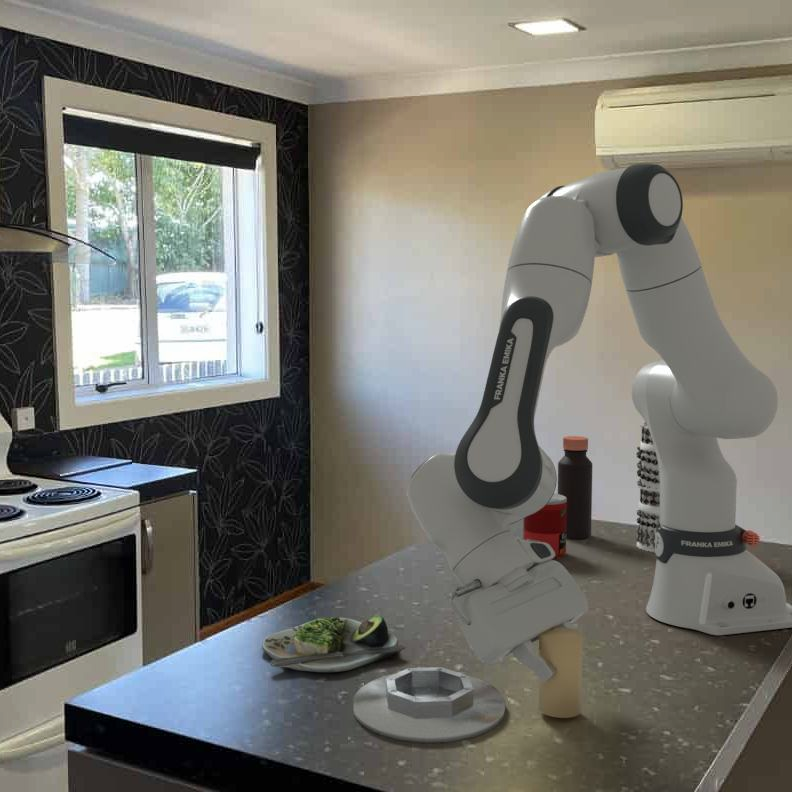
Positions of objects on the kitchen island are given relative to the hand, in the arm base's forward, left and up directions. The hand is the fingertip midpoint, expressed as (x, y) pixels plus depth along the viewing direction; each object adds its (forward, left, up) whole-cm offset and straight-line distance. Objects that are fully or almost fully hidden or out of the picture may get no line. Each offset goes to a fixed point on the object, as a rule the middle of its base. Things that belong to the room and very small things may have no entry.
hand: (565, 669), depth 114 cm
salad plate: (+27, -23, -6) cm, 36 cm away
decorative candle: (-36, -72, -6) cm, 81 cm away
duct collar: (+16, -3, -6) cm, 17 cm away
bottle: (-22, -82, -6) cm, 86 cm away
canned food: (-13, -69, -6) cm, 71 cm away
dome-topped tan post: (0, 0, -5) cm, 5 cm away
